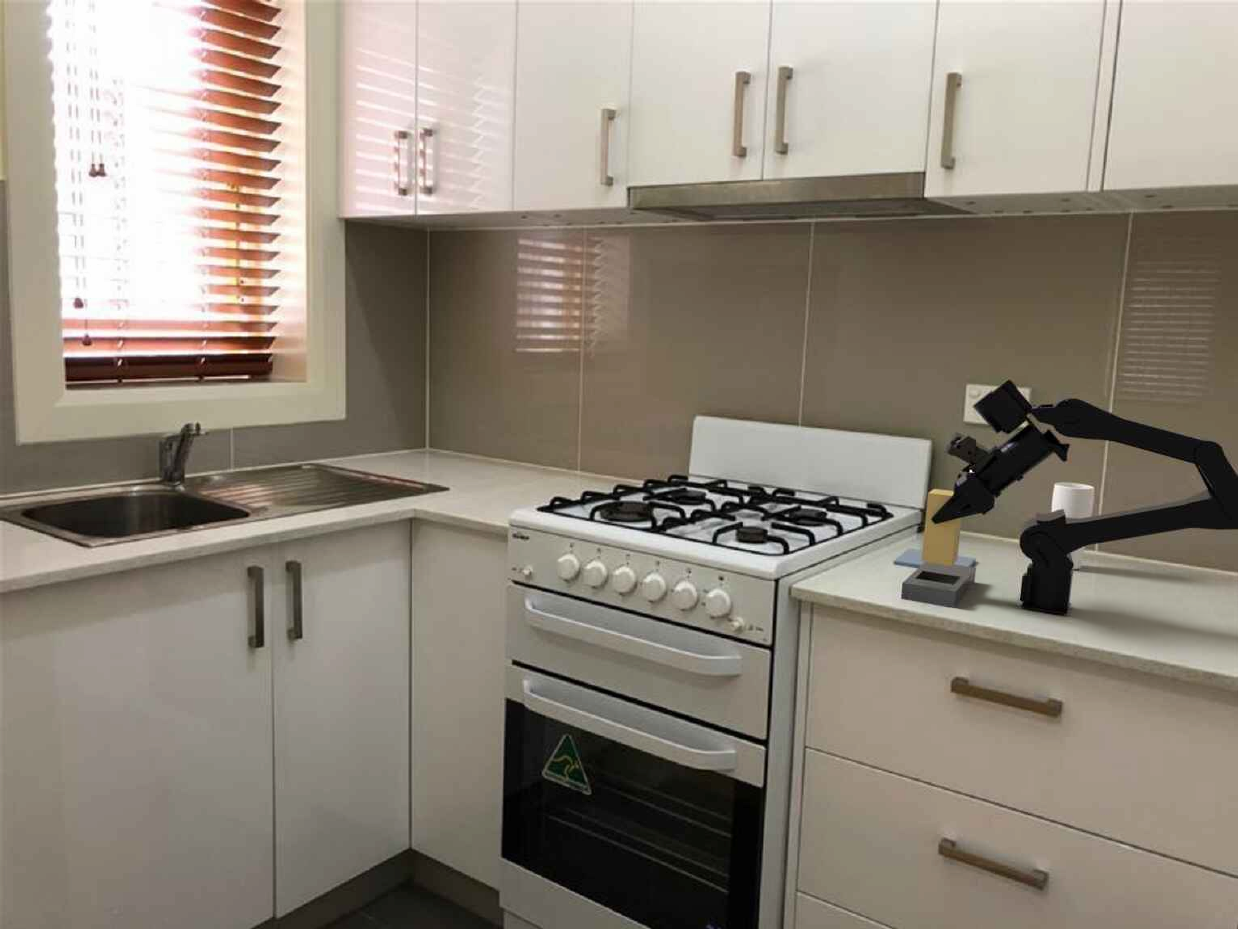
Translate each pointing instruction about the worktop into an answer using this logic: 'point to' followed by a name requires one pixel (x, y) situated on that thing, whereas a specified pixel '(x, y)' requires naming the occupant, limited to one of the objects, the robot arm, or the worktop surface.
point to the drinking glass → (1074, 507)
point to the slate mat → (915, 560)
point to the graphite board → (938, 584)
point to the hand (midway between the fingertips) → (934, 518)
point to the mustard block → (940, 532)
